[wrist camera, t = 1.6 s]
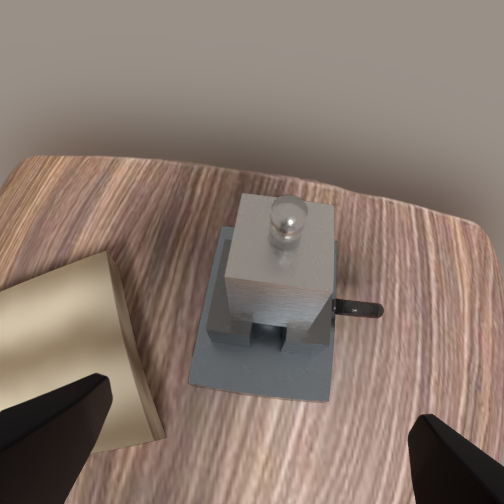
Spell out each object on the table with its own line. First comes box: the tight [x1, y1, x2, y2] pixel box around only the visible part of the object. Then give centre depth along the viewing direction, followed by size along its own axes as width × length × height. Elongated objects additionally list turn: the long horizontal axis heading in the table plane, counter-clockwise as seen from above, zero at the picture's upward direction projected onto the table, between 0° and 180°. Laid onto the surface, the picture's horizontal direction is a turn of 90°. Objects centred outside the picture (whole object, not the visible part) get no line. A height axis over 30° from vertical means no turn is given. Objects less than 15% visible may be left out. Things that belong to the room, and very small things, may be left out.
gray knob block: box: [224, 193, 334, 330], centre depth 15 cm, size 4×4×8 cm
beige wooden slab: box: [0, 251, 166, 454], centre depth 18 cm, size 14×16×3 cm
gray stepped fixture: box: [188, 226, 384, 403], centre depth 19 cm, size 12×12×8 cm
